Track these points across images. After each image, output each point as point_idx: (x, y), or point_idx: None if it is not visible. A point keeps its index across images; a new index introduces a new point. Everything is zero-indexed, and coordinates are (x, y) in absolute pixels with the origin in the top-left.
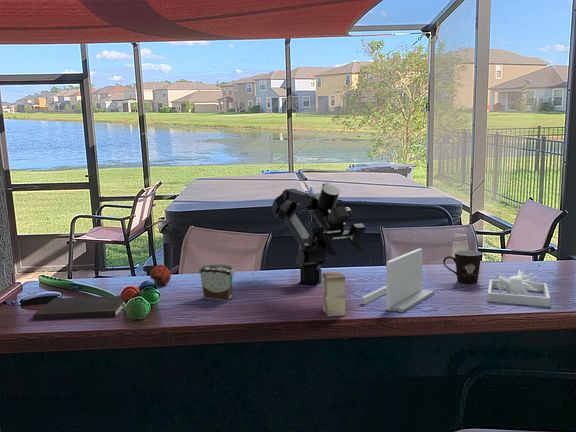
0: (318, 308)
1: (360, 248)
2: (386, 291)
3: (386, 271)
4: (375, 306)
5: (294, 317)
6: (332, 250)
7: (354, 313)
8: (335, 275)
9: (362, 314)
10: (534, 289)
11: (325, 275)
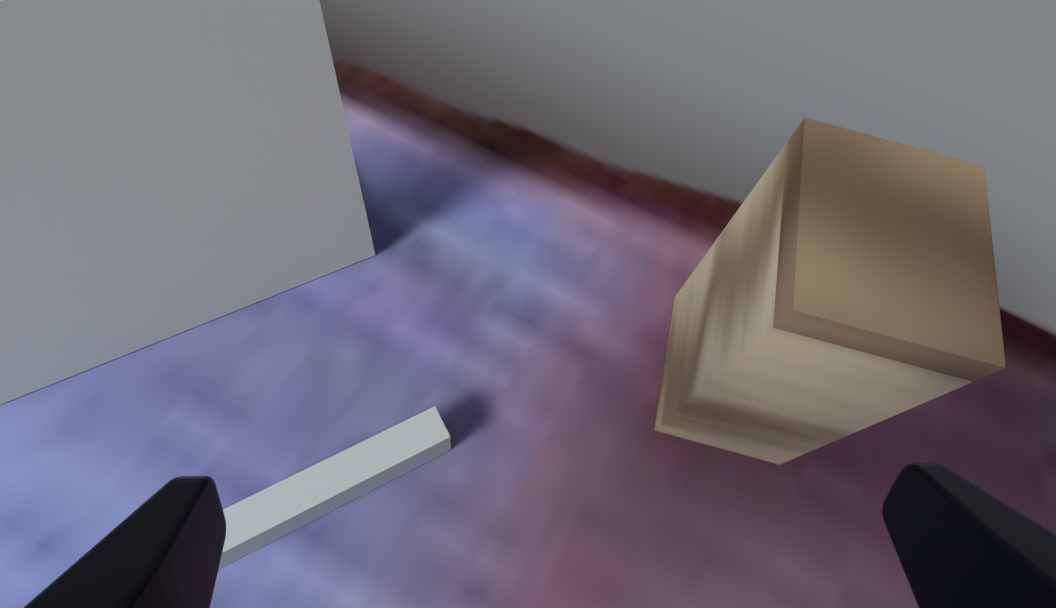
0: (804, 512)
1: (185, 538)
2: (357, 176)
3: (326, 36)
4: (394, 345)
5: (1002, 412)
6: (1042, 539)
7: (608, 293)
8: (884, 197)
9: (571, 255)
10: None
11: (989, 249)
